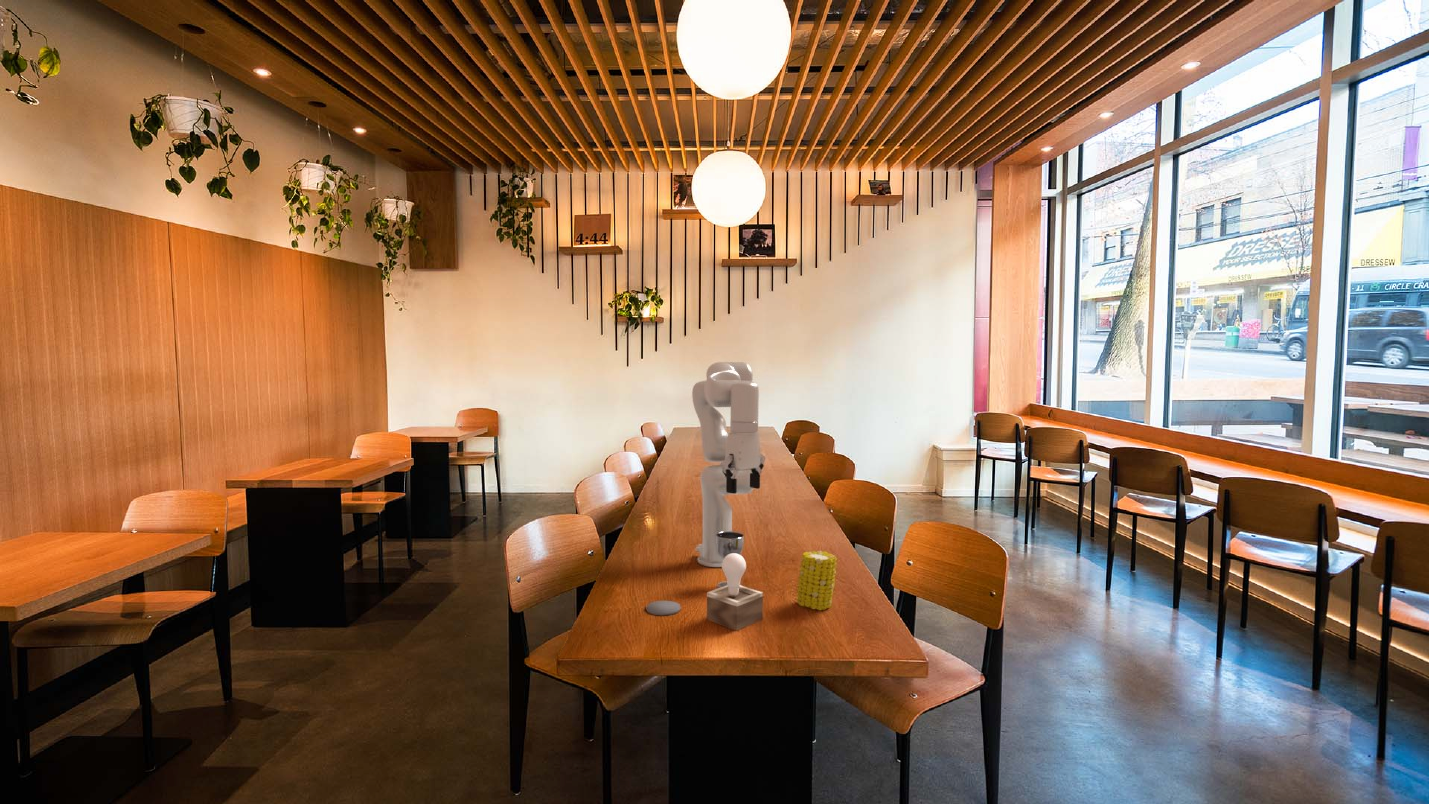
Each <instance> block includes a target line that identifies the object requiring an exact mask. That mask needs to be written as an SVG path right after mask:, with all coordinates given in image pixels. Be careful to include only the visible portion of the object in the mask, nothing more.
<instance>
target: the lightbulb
mask: <svg viewBox="0 0 1429 804" xmlns="http://www.w3.org/2000/svg"><path fill="white" fill-rule="evenodd" d="M746 562H747V561H746V560H745V558H744V557H743V556H742V554H741V555H739V554H737V553H731V554H729V555H727V556H726V557H725V558H724V559H723V562H722V567H721V569H722V571H723V573H724V575H725V577H726V581H727V585H728V590H729V595H731V596H732V597H735V596H736V595H738V593H739V586H740V584H741V581H742V580H741V579H742V577H743V576H744V574H745V572H746V569H747V563H746Z"/></svg>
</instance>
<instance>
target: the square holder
mask: <svg viewBox="0 0 1429 804" xmlns="http://www.w3.org/2000/svg"><path fill="white" fill-rule="evenodd" d="M763 601H764V592H763V591H759V590H756V589H753V588H750V587H746V586H744V585H742V584H741V585H740V586H739V593H738V595H736V596H735V597H732V596H731V595H729V590H728V585H726V586H724V587H721V588H719V587H717V588H715V589H713V590H710V591H708V592H707V593H706V620H707V621H710V622H713V623H715V624H716V625H717V624H718V625H721V626H723V627H726V628H729V629H731V630H733V631H736V632H738V631H739V630H741V629H744V628H747V627H749V626H751V625H753V624H755V623H757V622H760V621H762V620H763V617H764V616H763V615H764V614H763V613H764V611H763V610H764V609H763V606H764V605H763V604H764V602H763Z"/></svg>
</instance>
